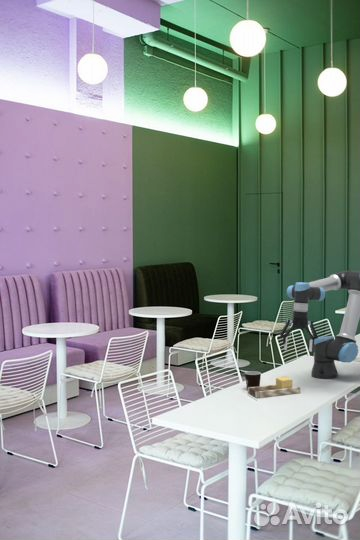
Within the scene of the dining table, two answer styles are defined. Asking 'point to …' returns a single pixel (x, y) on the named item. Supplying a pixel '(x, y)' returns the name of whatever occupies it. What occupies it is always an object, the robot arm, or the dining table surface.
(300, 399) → the dining table surface
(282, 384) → the mustard block
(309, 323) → the robot arm
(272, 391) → the brown checkered tray
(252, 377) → the coffee mug
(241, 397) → the dining table surface
